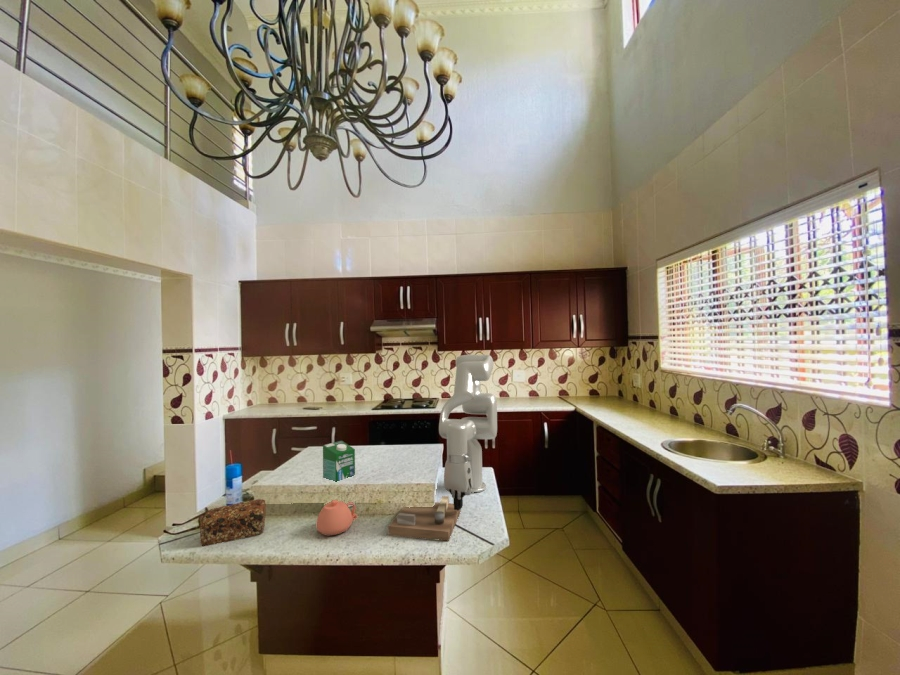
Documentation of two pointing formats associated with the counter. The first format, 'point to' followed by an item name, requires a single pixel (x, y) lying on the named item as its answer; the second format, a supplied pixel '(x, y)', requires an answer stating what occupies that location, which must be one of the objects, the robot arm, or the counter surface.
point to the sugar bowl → (335, 517)
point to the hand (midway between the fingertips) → (458, 508)
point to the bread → (233, 522)
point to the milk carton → (338, 461)
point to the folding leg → (441, 510)
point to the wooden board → (424, 523)
